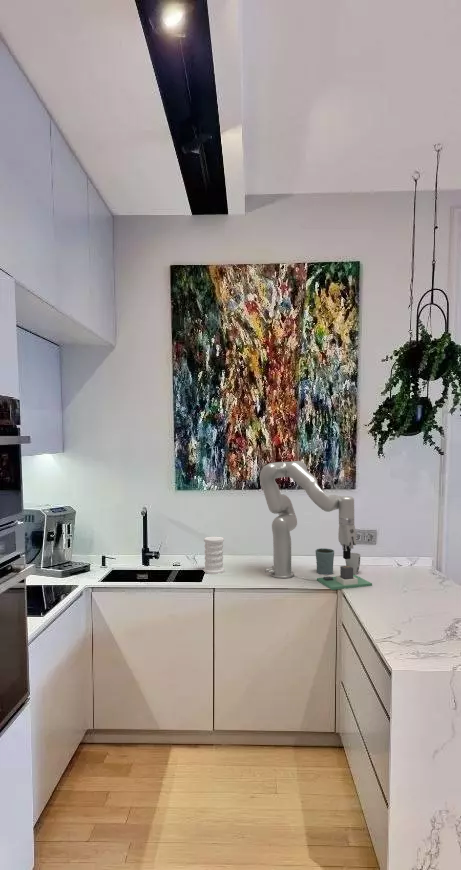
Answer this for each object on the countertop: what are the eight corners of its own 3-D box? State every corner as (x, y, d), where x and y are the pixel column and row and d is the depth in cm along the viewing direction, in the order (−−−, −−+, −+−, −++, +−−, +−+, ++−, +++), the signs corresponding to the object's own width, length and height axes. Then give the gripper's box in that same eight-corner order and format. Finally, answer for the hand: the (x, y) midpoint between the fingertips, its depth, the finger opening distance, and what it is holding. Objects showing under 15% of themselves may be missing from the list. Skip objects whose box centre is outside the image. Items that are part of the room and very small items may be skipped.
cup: (361, 575, 252) (360, 556, 252) (345, 574, 254) (345, 555, 254) (360, 571, 260) (359, 552, 260) (344, 570, 262) (344, 552, 262)
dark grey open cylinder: (328, 569, 264) (328, 547, 264) (338, 574, 255) (338, 551, 255) (312, 571, 261) (312, 549, 261) (321, 575, 251) (321, 553, 251)
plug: (345, 582, 233) (345, 568, 233) (340, 580, 237) (340, 565, 237) (354, 581, 234) (354, 567, 234) (349, 579, 239) (349, 565, 239)
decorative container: (199, 571, 260) (198, 538, 261) (213, 567, 269) (213, 535, 269) (214, 575, 253) (214, 541, 253) (228, 570, 262) (228, 538, 262)
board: (331, 589, 228) (331, 582, 228) (316, 580, 243) (316, 573, 243) (372, 585, 234) (372, 578, 234) (354, 576, 249) (354, 569, 249)
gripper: (361, 523, 230) (361, 561, 230) (345, 518, 244) (345, 554, 244) (347, 524, 228) (347, 562, 228) (332, 519, 242) (332, 555, 242)
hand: (346, 558), depth 236 cm, fingers closed
